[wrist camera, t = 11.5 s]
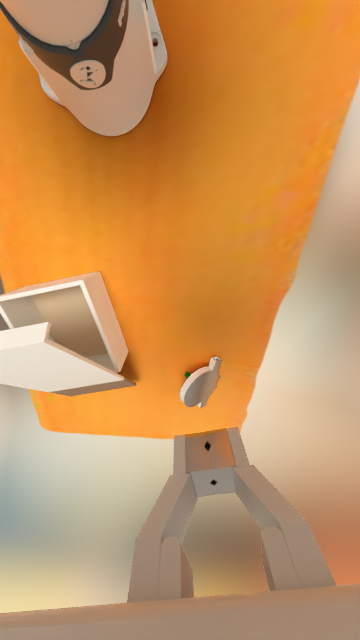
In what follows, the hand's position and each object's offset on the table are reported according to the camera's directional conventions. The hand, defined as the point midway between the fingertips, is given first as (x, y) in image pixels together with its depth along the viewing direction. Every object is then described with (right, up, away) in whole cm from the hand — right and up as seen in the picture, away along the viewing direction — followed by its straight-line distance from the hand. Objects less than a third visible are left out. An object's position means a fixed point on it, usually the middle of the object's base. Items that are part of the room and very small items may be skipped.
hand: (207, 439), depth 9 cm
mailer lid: (-23, -3, +28) cm, 37 cm away
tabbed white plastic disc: (+4, -9, +43) cm, 44 cm away
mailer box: (-24, +5, +36) cm, 44 cm away
